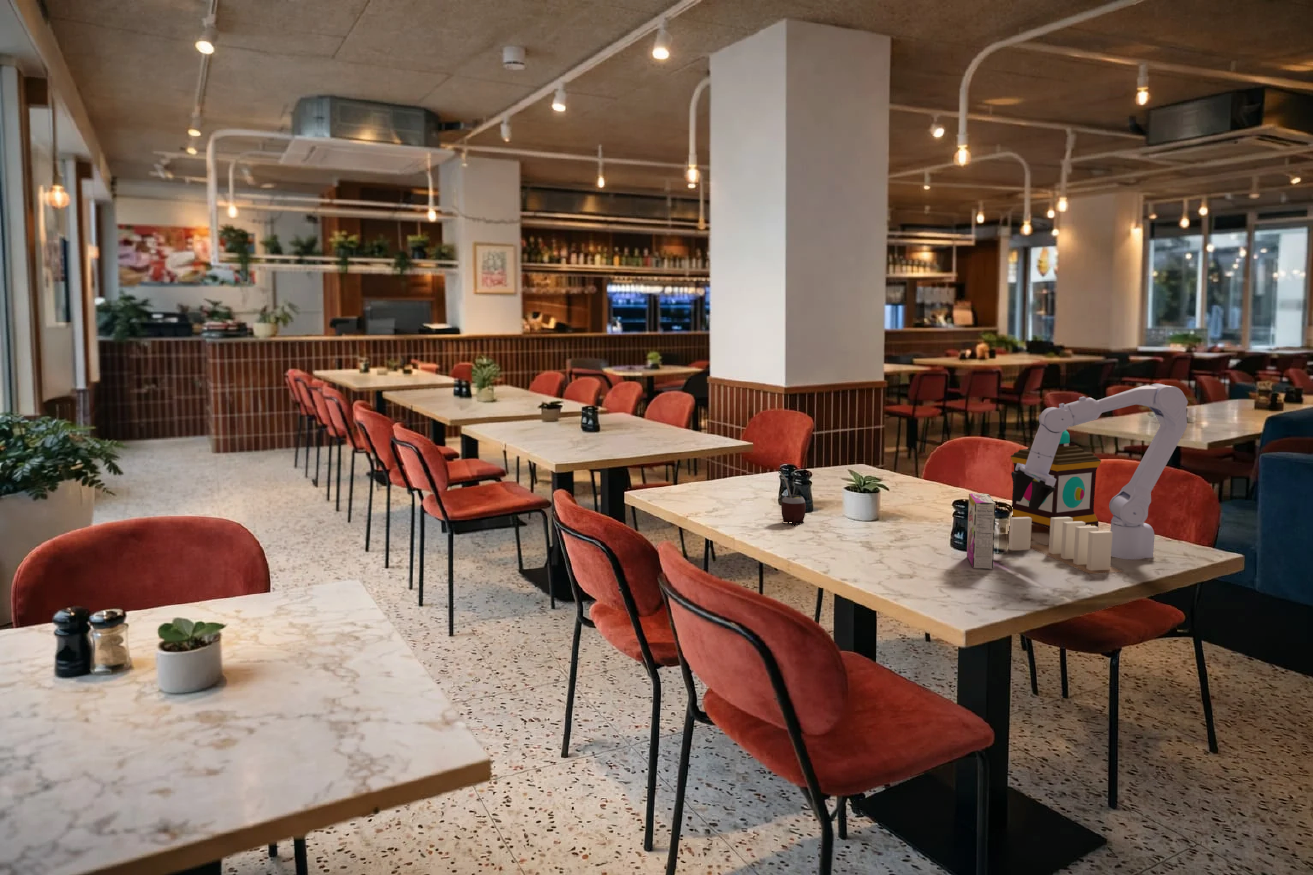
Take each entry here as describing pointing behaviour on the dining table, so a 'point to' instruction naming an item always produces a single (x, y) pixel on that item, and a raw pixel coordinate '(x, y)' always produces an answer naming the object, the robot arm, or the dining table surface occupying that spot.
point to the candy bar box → (981, 531)
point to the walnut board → (1070, 560)
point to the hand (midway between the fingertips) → (1024, 505)
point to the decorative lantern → (1063, 486)
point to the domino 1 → (1020, 533)
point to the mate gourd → (793, 507)
